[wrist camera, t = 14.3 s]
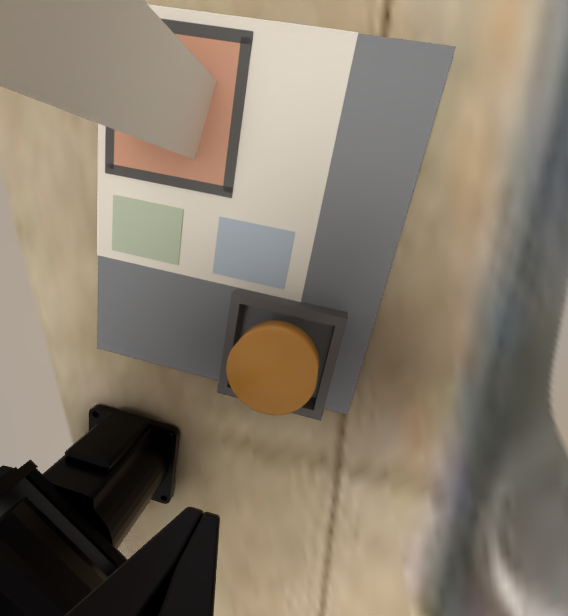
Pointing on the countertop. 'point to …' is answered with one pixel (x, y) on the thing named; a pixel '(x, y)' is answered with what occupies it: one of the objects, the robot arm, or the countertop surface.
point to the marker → (107, 67)
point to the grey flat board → (267, 198)
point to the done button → (273, 367)
